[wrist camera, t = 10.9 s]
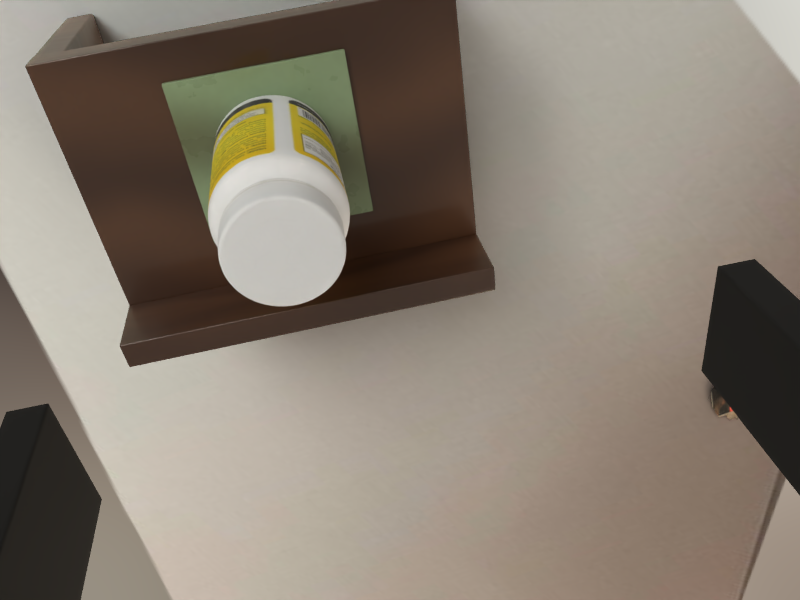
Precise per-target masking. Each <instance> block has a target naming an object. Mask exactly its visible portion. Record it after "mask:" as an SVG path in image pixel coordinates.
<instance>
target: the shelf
mask: <svg viewBox="0 0 800 600" xmlns="http://www.w3.org/2000/svg"><path fill="white" fill-rule="evenodd" d="M26 69H27V71H28V74H29V76H30V78H31V81H32V83H33V85H34V87H35V90H36V92H37V94H38V97H39V99H40V101H41V104H42V106H43V108H44V110H45V113H46V115H47V117H48V120H49V122H50V124H51V126H52V129H53V131H54V133H55V136H56V138H57V140H58V142H59V145H60V147H61V149H62V152H63V154H64V156H65V158H66V161H67V163H68V165H69V168H70V170H71V172H72V174H73V177H74V179H75V181H76V184H77V186H78V188H79V190H80V193H81V195H82V197H83V200H84V202H85V204H86V206H87V209H88V211H89V213H90V216H91V218H92V220H93V223H94V225H95V227H96V229H97V232H98V234H99V236H100V239H101V241H102V243H103V245H104V248H105V250H106V252H107V255H108V257H109V259H110V261H111V264H112V266H113V268H114V271H115V273H116V275H117V277H118V280H119V282H120V284H121V287H122V289H123V291H124V293H125V296H126V298H127V300H128V303H129V305H130V306H129V310H128V314H127V318H126V323H125V327H124V331H123V335H122V339H121V343H120V348H121V350H122V352H123V354H124V356H125V358H126V360H127V363H128V365H129V367H132V366H137V365H142V364H147V363H151V362H156V361H161V360H165V359H170V358H175V357H180V356H184V355H189V354H194V353H199V352H203V351H208V350H213V349H217V348H222V347H227V346H232V345H236V344H241V343H246V342H251V341H255V340H260V339H265V338H269V337H274V336H279V335H284V334H288V333H293V332H298V331H303V330H307V329H312V328H317V327H321V326H326V325H331V324H336V323H340V322H345V321H350V320H355V319H359V318H364V317H369V316H373V315H378V314H383V313H388V312H392V311H397V310H402V309H406V308H411V307H416V306H421V305H425V304H430V303H435V302H440V301H444V300H449V299H454V298H458V297H463V296H468V295H473V294H477V293H482V292H487V291H492V290H495V277H494V267H493V265H492V263H491V261H490V259H489V257H488V256H487V254H486V252H485V250H484V248H483V246H482V244H481V242H480V240H479V238H478V236H477V234H476V225H475V214H474V202H473V191H472V180H471V168H470V157H469V146H468V134H467V123H466V112H465V100H464V89H463V78H462V66H461V55H460V44H459V32H458V21H457V10H456V0H336V1H331V2H325V3H320V4H315V5H309V6H304V7H298V8H293V9H288V10H282V11H277V12H272V13H266V14H261V15H255V16H250V17H245V18H239V19H234V20H229V21H223V22H218V23H212V24H207V25H202V26H196V27H191V28H185V29H180V30H175V31H169V32H164V33H159V34H153V35H148V36H142V37H137V38H132V39H126V40H121V41H116V42H110V43H105V44H104V43H103V40H102V37H101V34H100V32H99V29H98V26H97V24H96V21H95V18H94V16H93V15H92V14H88V15H83V16H77V17H72V18H67V19H66V20H65V22H64V23H63V24H62V25H61V26H60V27H59V29H58V30H57V31H56V32H55V33H54V34H53V35H52V37H51V38H50V39H49V40H48V41H47V42H46V44H45V45H44V46H43V47H42V48H41V49H40V51H39V52H38V53H37V54H36V55H35V56H34V57H33V58H32V59H31V60H30V61H29V62H28V64H27V65H26ZM265 95H280V96H287V97H291V98H294V99H296V100H299V101H301V102H303V103H305V104H306V105H308V106H309V107H311V108H312V109H313V110H314V111H315V112H316V113H317V114H318V115H319V116H320V117H321V118H322V119H323V121H324V122H325V124H326V126H327V127H328V129H329V132H330V134H331V137H332V140H333V144H334V148H335V152H336V155H337V159H338V163H339V166H340V170H341V174H342V178H343V182H344V186H345V190H346V193H347V197H348V202H349V208H350V223H349V228H348V232H347V236H346V238H345V241H346V259H345V263H344V266H343V269H342V271H341V273H340V275H339V277H338V278H337V280H336V281H335V282H334V284H333V285H332V286H331V287H330V288H329V289H328V290H327V291H325V292H324V293H323V294H321V295H320V296H318V297H316V298H314V299H313V300H310V301H308V302H305V303H302V304H298V305H293V306H270V305H265V304H261V303H258V302H255V301H253V300H251V299H249V298H247V297H245V296H244V295H242V294H241V293H239V292H238V291H237V290H236V289H235V288H234V287H233V286H232V285H231V284H230V283H229V282H228V280H227V279H226V277H225V275H224V274H223V271H222V269H221V266H220V263H219V258H218V247H217V246H216V244H215V242H214V240H213V238H212V235H211V232H210V227H209V223H208V203H209V192H210V181H211V170H212V159H213V147H214V141H215V137H216V133H217V130H218V128H219V126H220V124H221V122H222V121H223V119H224V118H225V116H226V115H227V114H228V113H229V112H230V111H231V110H232V109H233V108H234V107H236V106H237V105H239V104H240V103H242V102H244V101H246V100H248V99H251V98H255V97H259V96H265Z"/></svg>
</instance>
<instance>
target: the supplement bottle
mask: <svg viewBox="0 0 800 600" xmlns="http://www.w3.org/2000/svg"><path fill="white" fill-rule="evenodd" d="M208 223H209V227H210V232H211V235H212V238H213V240H214V242H215V244H216V246H217V247H218V258H219V263H220V266H221V269H222V271H223V274H224V275H225V277H226V279H227V280H228V282H229V283H230V284H231V285H232V286H233V287H234V288H235V289H236V290H237V291H238V292H239V293H241V294H242V295H244V296H245V297H247V298H249V299H251V300H253V301H255V302H258V303H261V304H265V305H270V306H293V305H298V304H302V303H305V302H308V301H310V300H313V299H314V298H316V297H318V296H320V295H321V294H323V293H324V292H325V291H327V290H328V289H329V288H330V287H331V286H332V285H333V284H334V282H335V281H336V280H337V278H338V277H339V275H340V273H341V271H342V269H343V266H344V263H345V259H346V241H345V238H346V236H347V232H348V228H349V223H350V208H349V202H348V197H347V193H346V190H345V186H344V182H343V178H342V174H341V170H340V166H339V163H338V159H337V155H336V152H335V148H334V144H333V140H332V137H331V134H330V132H329V129H328V127H327V126H326V124H325V122H324V121H323V119H322V118H321V117H320V116H319V115H318V114H317V113H316V112H315V111H314V110H313V109H312V108H311V107H309V106H308V105H306V104H305V103H303V102H301V101H299V100H296V99H294V98H291V97H287V96H280V95H265V96H259V97H255V98H251V99H248V100H246V101H244V102H242V103H240V104H239V105H237V106H236V107H234V108H233V109H232V110H231V111H230V112H229V113H228V114H227V115H226V116H225V118H224V119H223V121H222V122H221V124H220V126H219V128H218V130H217V133H216V137H215V141H214V147H213V159H212V170H211V181H210V192H209V203H208Z"/></svg>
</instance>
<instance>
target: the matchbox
mask: <svg viewBox="0 0 800 600" xmlns="http://www.w3.org/2000/svg"><path fill="white" fill-rule="evenodd" d="M708 399H709V398H708ZM711 399H712V402H711V403H712V408H713V409H714V411H715V412H716V414H717V415H718V417H722V416H725V415H726V416H727V418H729V419H730V420H732V419H734V418H736V417H737V418H736V419H738V416H737V415H736V414H735V413H734V411H733V410H732V409H731V407H730V406H729V405H728V404H727V402H726V401H725V400H724V399H723V397H722V396H721V395H720V393H719V392H718V391H717V390H716V388H715V387H714V388H713V389H712V390H711ZM731 413H732V414H731ZM728 414H729V415H728Z"/></svg>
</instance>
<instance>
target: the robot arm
mask: <svg viewBox="0 0 800 600" xmlns="http://www.w3.org/2000/svg"><path fill="white" fill-rule="evenodd" d="M702 372H703V373H704V374H705V376H706V377H707V378H708V380H709V381H710V382H711V383H712V385H713V386H714V387H715V388H716V390H717V391H718V392H719V393H720V395H721V396H722V397H723V399H724V400H725V401H726V402H727V404H728V405H729V406H730V407H731V409H732V410H733V411H734V413H735V414H736V415H737V416H738V418H739V419H740V420H741V421H742V423H743V424H744V425H745V426H746V428H747V429H748V430H749V432H750V433H751V434H752V435H753V437H754V438H755V439H756V440H757V442H758V443H759V444H760V446H761V447H762V448H763V449H764V451H765V452H766V453H767V454H768V456H769V457H770V458H771V459H772V461H773V462H774V463H775V465H776V466H777V467H778V468H779V470H780V471H781V472H782V473H783V475H784V476H785V477H786V479H787V480H788V481H789V482H790V484H791V485H792V486H793V487H794V489H795V490H796V491H797V492H798V494H799V495H800V300H799V299H798V298H797V297H796V296H794V295H793V294H792V293H791V292H790V291H789V290H788V289H787V288H786V287H785V286H783V285H782V284H781V283H780V282H779V281H778V280H777V279H776V278H775V277H774V276H773V275H771V274H770V273H769V272H768V271H767V270H766V269H765V268H764V267H763V266H762V265H761V264H759V263H758V262H757V261H756V260H755V259H753V260H748V261H743V262H738V263H733V264H728V265H723V266H718V270H717V276H716V283H715V289H714V295H713V302H712V308H711V314H710V321H709V327H708V333H707V340H706V346H705V352H704V359H703V365H702ZM101 500H102V499H101V497H100V495H99V494H98V492H97V490H96V488H95V486H94V485H93V483H92V481H91V479H90V477H89V476H88V474H87V472H86V471H85V469H84V467H83V465H82V463H81V462H80V460H79V458H78V456H77V454H76V452H75V451H74V449H73V447H72V445H71V443H70V442H69V440H68V438H67V436H66V434H65V433H64V431H63V429H62V428H61V426H60V424H59V422H58V420H57V418H56V417H55V415H54V413H53V411H52V410H51V408H50V406H49V404H44V405H39V406H34V407H29V408H24V409H19V410H14V411H9V412H6V415H5V417H4V420H3V422H2V425H1V427H0V600H81V595H82V590H83V585H84V581H85V576H86V571H87V566H88V562H89V557H90V552H91V548H92V543H93V538H94V533H95V529H96V523H97V519H98V514H99V510H100V505H101Z"/></svg>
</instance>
